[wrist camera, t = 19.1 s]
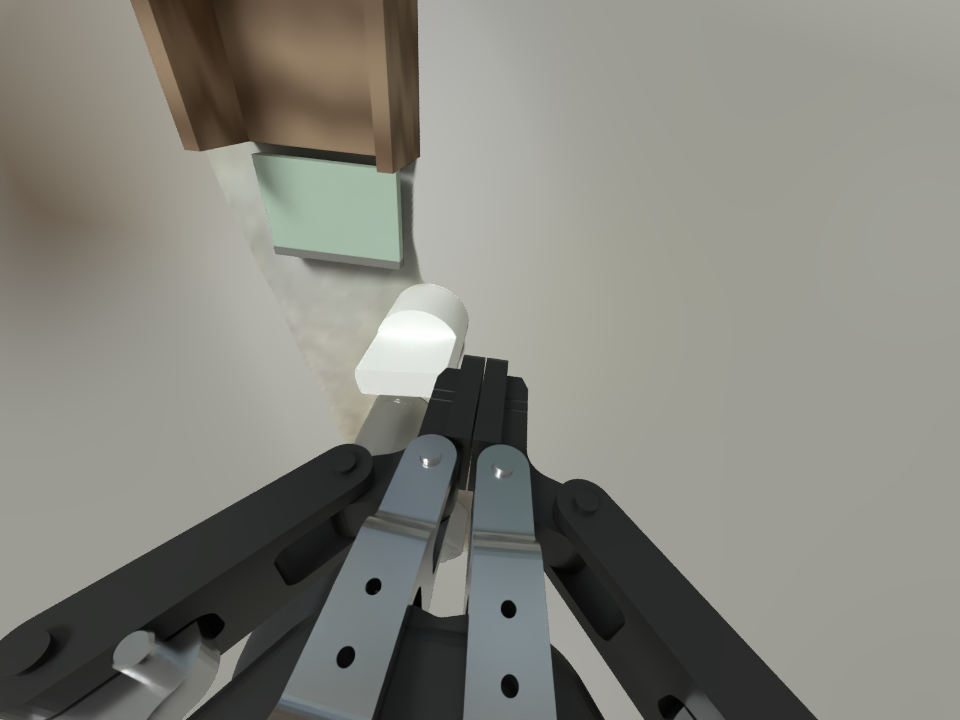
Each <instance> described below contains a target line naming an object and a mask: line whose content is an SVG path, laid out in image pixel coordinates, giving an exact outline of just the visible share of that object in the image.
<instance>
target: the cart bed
mask: <svg viewBox="0 0 960 720" xmlns="http://www.w3.org/2000/svg"><path fill="white" fill-rule="evenodd" d="M130 1H131V3H132V6H133V9H134V11H135V14H136V17H137V20H138V23H139V25H140V28H141V31H142V34H143V36H144V39H145V42H146V44H147V47H148V50H149V53H150V56H151V58H152V61H153V64H154V67H155V69H156V72H157V75H158V78H159V81H160V83H161V86H162V89H163V92H164V94H165V97H166V100H167V102H168V105H169V108H170V111H171V114H172V116H173V119H174V122H175V125H176V127H177V130H178V133H179V136H180V138H181V141H182V144H183V147H184V149H185V150H192V151H205V150H209V149H214V148H219V147H224V146H229V145H234V144H239V143H243V142H248V141H251V142H260V143H268V144H277V145H286V146H295V147H303V148H312V149H321V150H329V151H338V152H347V153H355V154H364V155H373V156H376V167H377V172H380V173H388V174H394V173H395V172H397V171H398V170H400V169H401V168H403V167H405V166H406V165H408V164H409V163H411V162H412V161H414V160H415V159H417V158H419V157H420V128H419V70H418V68H419V67H418V10H417V0H130Z"/></svg>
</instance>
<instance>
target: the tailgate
mask: <svg viewBox="0 0 960 720" xmlns="http://www.w3.org/2000/svg"><path fill="white" fill-rule="evenodd" d="M252 158H253V162H254V166H255V170H256V175H257V179H258V183H259V187H260V191H261V195H262V199H263V203H264V207H265V211H266V215H267V219H268V223H269V227H270V231H271V235H272V239H273V243H274V250H275V254H279V255H287V256H295V257H303V258H310V259H318V260H326V261H334V262H342V263H349V264H357V265H365V266H373V267H380V268H388V269H396V270H400V269H401V268H402V267H403V265H404V257H403V238H402V212H401V186H400V170H398V171H397V172H395V173H394V174H388V173H380V172H377V167H376V166H372V165H363V164H354V163H346V162H337V161H329V160H320V159H311V158H303V157H294V156H286V155H277V154H268V153H254V154H252Z"/></svg>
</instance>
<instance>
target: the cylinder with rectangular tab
mask: <svg viewBox="0 0 960 720" xmlns="http://www.w3.org/2000/svg"><path fill="white" fill-rule="evenodd" d="M467 328H468V315H467V311H466V309H465V307H464V305H463V303H462V302H461V301H460V299H459V298H458V297H457V296H456V295H455V294H453V293H452V292H451V291H449V290H448V289H446V288H443V287H441V286H438V285H433V284H427V283H426V284H417V285H414V286H412V287H409V288H407V289H406V290H405V291H403V292H402V293H401V294H400V296H399V297H398V299H397V300H396V302H395V303H394V305H393V306H392V308H391V310H390V311H389V313H388V314H387V316H386V318H385V319H384V321H383V322H382V324H381V325H380V327H379V330H378V334H377V336H376V337H375V339H374V340H373V342H372V344H371V345H370V347H369V348H368V350H367V352H366V353H365V355H364V356H363V358H362V360H361V361H360V363H359V364H358V366H357V368H356V369H355V377H356V382H357V385H358V387H359V389H360V391H361V392H362V393H363V394H377V395H394V396H411V397H428V398H431V394H432V391H433V389H434V385H435V382H436V379H437V376H438V375H439V374H440V373H441V372H443V371H444V370H445V369H446V368H447V367H448V368H455V369H457V365H458V362H459V358H460V354H461V351H462V347H463V343H464V339H465V336H466V332H467Z"/></svg>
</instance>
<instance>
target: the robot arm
mask: <svg viewBox="0 0 960 720" xmlns="http://www.w3.org/2000/svg"><path fill="white" fill-rule="evenodd" d="M484 367H485V358H484V357H478V356H470V355H464V357H463V361H462V365H461V369H455V368H448V367H447V368H446V369H445V370H444V371H443V372H441V373H440V374H439V375H438V376H437V379H436V382H435V385H434V389H433V391H432V394H431V398H430V400H429V403H428V404H427V403H426V402H425V401H424V400H423V399H421V398H419V397H411V396H394V395H380V396H379V397H378V398H377V399H376V401H375V403H374V405H373V407H372V409H371V411H370V412H369V414H368V416H367V418H366V420H365V422H364V424H363V426H362V428H361V430H360V432H359V434H358V436H357V438H356V440H355V442H354V444H343V445H339V446H336V447H334V448H332V449H330V450H328V451H327V452H325V453H323V454H321V455H319V456H318V457H316V458H314V459H312V460H311V461H309V462H307V463H305V464H303V465H302V466H300V467H298V468H296V469H295V470H293V471H291V472H289V473H288V474H286V475H284V476H282V477H280V478H279V479H277V480H275V481H274V482H272V483H270V484H268V485H266V486H265V487H263V488H261V489H259V490H257V491H256V492H254V493H252V494H250V495H249V496H247V497H245V498H243V499H242V500H240V501H238V502H236V503H234V504H233V505H231V506H229V507H227V508H226V509H224V510H222V511H220V512H219V513H217V514H215V515H213V516H211V517H210V518H208V519H206V520H205V521H203V522H201V523H199V524H197V525H196V526H194V527H192V528H190V529H189V530H187V531H185V532H183V533H182V534H180V535H178V536H176V537H174V538H173V539H171V540H169V541H167V542H165V543H164V544H162V545H160V546H158V547H157V548H155V549H153V550H151V551H150V552H148V553H146V554H144V555H142V556H141V557H139V558H137V559H135V560H134V561H132V562H130V563H128V564H127V565H125V566H123V567H121V568H120V569H118V570H116V571H114V572H113V573H111V574H109V575H107V576H105V577H104V578H102V579H100V580H98V581H97V582H95V583H93V584H91V585H89V586H88V587H86V588H84V589H82V590H81V591H79V592H77V593H75V594H73V595H72V596H70V597H68V598H66V599H65V600H63V601H61V602H59V603H58V604H56V605H54V606H52V607H51V608H49V609H47V610H45V611H43V612H42V613H40V614H38V615H37V616H35V617H33V618H31V619H29V620H28V621H26V622H24V623H23V624H21V625H20V626H18V627H17V628H15V629H14V630H13V631H11V632H10V633H9V634H8V635H7V636H5V637H4V638H3V639H2V640H0V719H3V720H181V719H182V718H183V717H184V716H185V715H186V714H187V713H188V712H189V711H190V710H191V709H192V708H193V707H194V706H195V705H196V704H197V703H198V702H199V701H200V700H201V698H202V697H203V696H204V695H205V694H206V692H207V691H208V689H209V688H210V686H211V684H212V683H213V681H214V679H215V676H216V674H217V672H218V668H219V664H220V656H221V655H222V654H223V653H225V652H226V651H227V650H228V649H230V648H231V647H232V646H234V645H235V644H236V643H237V642H239V641H240V640H241V639H243V638H244V637H245V636H246V635H248V634H249V633H250V632H252V633H251V635H250V637H249V639H248V641H247V643H246V645H245V647H244V649H243V651H242V654H241V656H240V658H239V660H238V663H237V665H236V668H235V671H234V674H233V677H232V680H231V681H230V682H229V683H228V684H227V685H226V686H224V687H223V688H222V689H221V690H220V691H219V692H218V693H216V694H215V695H214V696H213V697H212V698H210V700H208V701H207V702H206V703H205V704H204V705H202V706H201V707H200V708H199V709H198V710H197V711H195V712H194V713H193V714H192V715H191V716H190V717H189V718H187V719H186V720H605V719H604V718H603V716H602V714H601V713H600V711H599V709H598V707H597V706H596V704H595V702H594V701H593V699H592V697H591V695H590V694H589V692H588V690H587V688H586V687H585V685H584V683H583V682H582V680H581V678H580V677H579V675H578V674H577V672H576V671H575V670H574V669H573V667H572V665H571V664H570V663H569V662H568V660H567V659H566V658H565V657H564V656H563V655H562V654H561V653H560V652H559V651H558V650H557V649H556V648H555V647H554V646H553V645H551V644H550V638H549V627H548V615H547V604H546V593H545V581H544V572H545V573H546V574H547V576H548V578H549V579H550V581H551V582H552V584H553V585H554V586H555V588H556V589H557V591H558V592H559V594H560V595H561V597H562V598H563V600H564V601H565V603H566V604H567V606H568V607H569V609H570V610H571V611H572V613H573V615H574V616H575V618H576V619H577V620H578V622H579V623H580V625H581V626H582V628H583V629H584V631H585V632H586V634H587V635H588V637H589V638H590V640H591V641H592V643H593V644H594V646H595V647H596V649H597V650H598V651H599V653H600V655H601V656H602V657H603V659H604V660H605V662H606V663H607V665H608V666H609V668H610V669H611V671H612V672H613V674H614V675H615V677H616V678H617V680H618V681H619V683H620V684H621V686H622V687H623V689H624V690H625V692H626V693H627V695H628V696H629V697H630V699H631V700H632V702H633V703H634V705H635V706H636V708H637V709H638V711H639V712H640V714H641V715H642V717H643V718H644V720H818V719H816V717H815V716H814V715H813V714H812V713H811V712H810V711H809V710H808V709H807V708H806V706H805V705H804V704H803V703H802V702H801V701H800V700H799V699H798V698H797V697H796V696H795V695H794V694H793V693H792V691H791V690H790V689H789V688H788V687H787V686H786V685H785V684H784V683H783V682H782V681H781V680H780V679H779V678H778V677H777V675H776V674H775V673H774V672H773V671H772V670H771V669H770V668H769V667H768V666H767V665H766V664H765V663H764V661H763V660H762V659H761V658H760V657H759V656H758V655H757V654H756V653H755V652H754V651H753V650H752V649H751V648H750V646H749V645H747V643H746V642H745V641H744V640H743V639H742V638H741V637H740V636H739V635H738V634H737V633H736V631H735V630H733V628H732V627H731V626H730V625H729V624H728V623H727V622H726V621H725V620H724V619H723V618H722V617H721V615H719V613H718V612H717V611H716V610H715V609H714V608H713V607H712V606H711V605H710V604H709V603H708V601H707V600H705V598H704V597H703V596H702V595H701V594H700V593H699V592H698V591H697V590H696V589H695V588H694V587H693V585H692V584H690V582H689V581H688V580H687V579H686V578H685V577H684V576H683V575H682V574H681V573H680V571H679V570H678V569H677V568H676V567H675V566H674V565H673V564H672V563H671V562H670V561H669V560H668V559H667V558H666V556H665V555H663V553H662V552H661V551H660V550H659V549H658V548H657V547H656V546H655V545H654V544H653V543H652V542H651V540H650V539H649V538H648V537H647V536H646V535H645V534H644V533H643V532H642V531H641V530H640V529H639V528H638V527H637V525H635V523H634V522H633V521H632V520H631V519H630V518H629V517H628V516H627V515H626V514H625V513H624V511H623V510H622V509H621V508H620V507H619V506H618V505H617V504H616V503H615V502H614V501H613V500H612V499H611V498H610V496H609V495H608V494H607V493H606V492H605V491H604V490H603V489H602V488H600V487H599V486H598V485H596V484H594V483H592V482H590V481H587V480H583V479H573V480H569V481H567V482H565V483H564V484H562V483H559V482H557V481H555V480H553V479H551V478H548V477H546V476H545V475H543V474H541V473H540V472H539V471H537V470H536V469H535V467H534V466H533V465H532V464H531V462H530V460H529V458H528V455H527V411H528V388H527V387H526V385H525V383H524V381H523V379H522V378H520V377H513V376H507V371H508V361H507V360H500V359H492V358H487V362H486V368H485V374H484ZM483 376H484V380H483ZM470 461H471V465H470ZM469 467H470V474H469V483H468V491H474V492H473V500H472V508H471V516H470V528H469V543H468V558H467V574H466V586H465V598H464V610H463V615H458V616H451V617H436V616H434V615H432V614H430V613H428V611H429V607H430V602H431V598H432V592H433V586H434V581H435V577H436V573H437V569H438V566H439V562H440V559H441V555H442V551H443V548H444V544H445V540H446V537H447V533H448V529H449V526H450V522H451V518H452V514H453V510H454V508H455V504H456V499H457V494H458V489H460V490H466V484H467V478H468V472H469ZM335 581H336V582H335ZM334 583H335V584H334ZM333 585H334V586H333ZM332 587H333V588H332Z"/></svg>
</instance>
